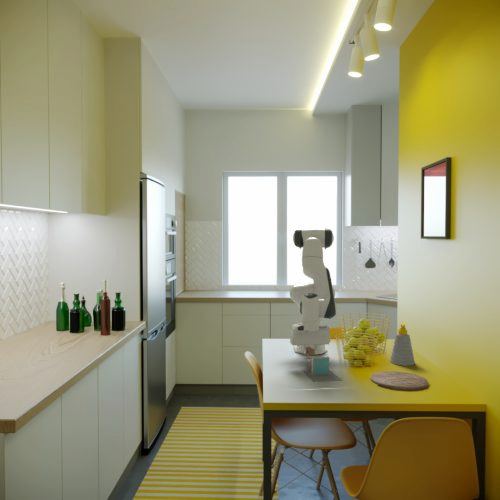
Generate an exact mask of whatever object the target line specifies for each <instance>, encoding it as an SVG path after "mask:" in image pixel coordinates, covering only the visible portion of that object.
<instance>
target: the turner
mask: <svg viewBox="0 0 500 500" xmlns="http://www.w3.org/2000/svg"><path fill="white" fill-rule="evenodd" d="M305 348H306V350H308V354H303V355H304V359H305V360H306V361H308V362H309V363H310V364H312V357H320V356H319V355H315V354H314V349H312V348H311V347H309V346H306V347H305Z"/></svg>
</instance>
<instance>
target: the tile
mask: <svg viewBox="0 0 500 500" xmlns="http://www.w3.org/2000/svg"><path fill="white" fill-rule="evenodd" d="M329 370H330V357H329V356H319V357H312V363H311V371H312V375H329Z"/></svg>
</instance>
